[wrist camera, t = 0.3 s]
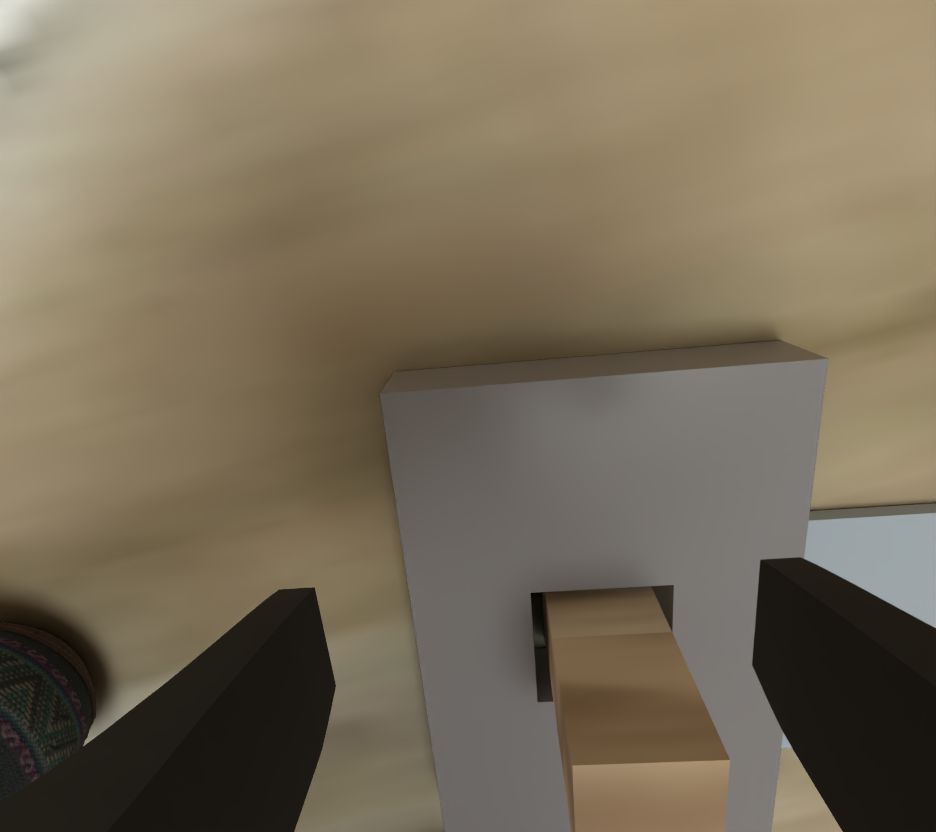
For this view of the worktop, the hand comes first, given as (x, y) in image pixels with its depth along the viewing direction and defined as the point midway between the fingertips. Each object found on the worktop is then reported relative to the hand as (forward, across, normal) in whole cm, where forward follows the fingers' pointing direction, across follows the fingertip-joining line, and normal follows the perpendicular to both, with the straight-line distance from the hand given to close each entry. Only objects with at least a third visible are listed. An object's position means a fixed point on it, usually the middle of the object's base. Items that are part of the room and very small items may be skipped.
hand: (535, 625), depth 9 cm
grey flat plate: (+10, -2, +7) cm, 12 cm away
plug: (+10, -2, +7) cm, 12 cm away
